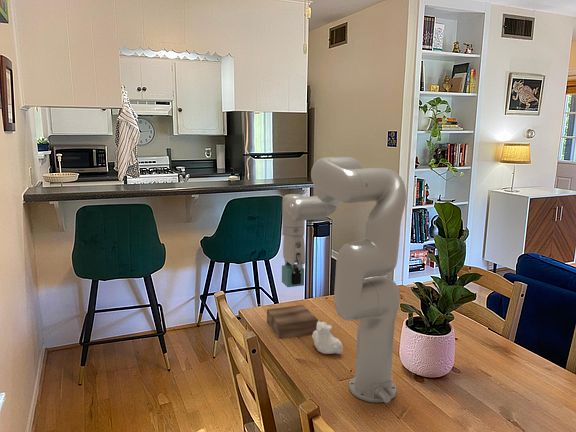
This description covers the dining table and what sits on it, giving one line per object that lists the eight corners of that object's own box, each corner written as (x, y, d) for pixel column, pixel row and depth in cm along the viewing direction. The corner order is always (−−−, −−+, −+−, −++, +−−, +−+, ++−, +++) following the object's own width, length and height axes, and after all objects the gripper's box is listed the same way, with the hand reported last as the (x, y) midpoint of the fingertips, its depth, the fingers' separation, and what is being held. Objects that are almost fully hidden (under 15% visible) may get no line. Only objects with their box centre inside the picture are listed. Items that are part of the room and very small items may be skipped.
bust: (311, 351, 150) (296, 332, 144) (324, 332, 153) (310, 313, 147) (339, 365, 142) (325, 345, 135) (352, 345, 145) (338, 324, 138)
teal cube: (303, 285, 158) (304, 268, 157) (287, 287, 156) (287, 270, 155) (297, 280, 163) (297, 263, 162) (281, 281, 161) (281, 265, 160)
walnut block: (317, 332, 158) (317, 319, 158) (279, 338, 154) (279, 324, 153) (302, 317, 171) (302, 304, 170) (266, 322, 167) (266, 309, 166)
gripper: (313, 235, 149) (312, 287, 153) (294, 224, 165) (294, 272, 169) (291, 237, 147) (291, 290, 150) (274, 226, 163) (274, 274, 166)
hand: (292, 280), depth 159 cm, fingers closed on teal cube, 6 cm apart
